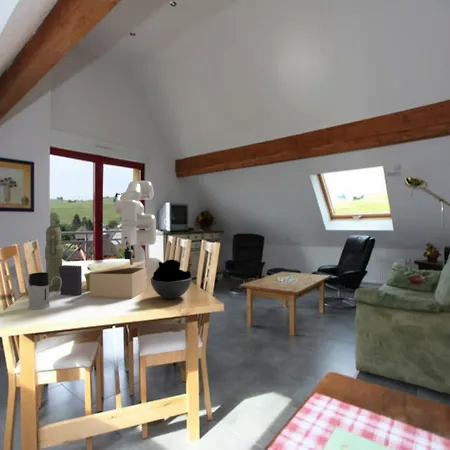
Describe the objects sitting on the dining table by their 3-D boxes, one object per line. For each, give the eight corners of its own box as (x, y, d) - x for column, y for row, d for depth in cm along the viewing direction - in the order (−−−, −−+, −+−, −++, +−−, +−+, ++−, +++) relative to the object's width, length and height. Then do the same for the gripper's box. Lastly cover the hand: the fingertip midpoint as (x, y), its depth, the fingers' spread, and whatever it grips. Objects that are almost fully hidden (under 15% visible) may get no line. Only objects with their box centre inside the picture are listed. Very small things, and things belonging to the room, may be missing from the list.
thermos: (45, 292, 170) (44, 227, 169) (45, 288, 180) (44, 226, 180) (64, 290, 175) (63, 226, 174) (62, 286, 185) (61, 226, 184)
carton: (108, 288, 180) (108, 267, 179) (146, 289, 177) (146, 267, 177) (89, 297, 160) (89, 273, 159) (132, 298, 157) (132, 274, 157)
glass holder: (34, 304, 147) (33, 272, 146) (66, 304, 148) (65, 271, 147) (23, 310, 138) (23, 275, 138) (57, 309, 139) (57, 275, 139)
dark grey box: (83, 294, 167) (82, 265, 166) (77, 296, 162) (76, 266, 162) (65, 292, 170) (65, 264, 169) (59, 294, 165) (58, 266, 165)
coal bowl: (186, 291, 171) (186, 257, 171) (196, 300, 153) (196, 261, 152) (148, 295, 164) (147, 258, 164) (154, 305, 146) (153, 264, 145)
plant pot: (80, 290, 175) (80, 274, 175) (91, 286, 184) (91, 271, 184) (95, 291, 173) (95, 275, 173) (105, 287, 182) (105, 272, 182)
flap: (108, 267, 180) (106, 252, 179) (145, 262, 177) (143, 246, 177) (89, 273, 159) (86, 256, 159) (131, 267, 157) (128, 250, 157)
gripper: (128, 223, 176) (129, 256, 176) (115, 224, 159) (115, 260, 160) (141, 223, 175) (142, 256, 176) (130, 224, 158) (130, 260, 159)
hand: (129, 258), depth 168 cm, fingers closed on flap, 4 cm apart
